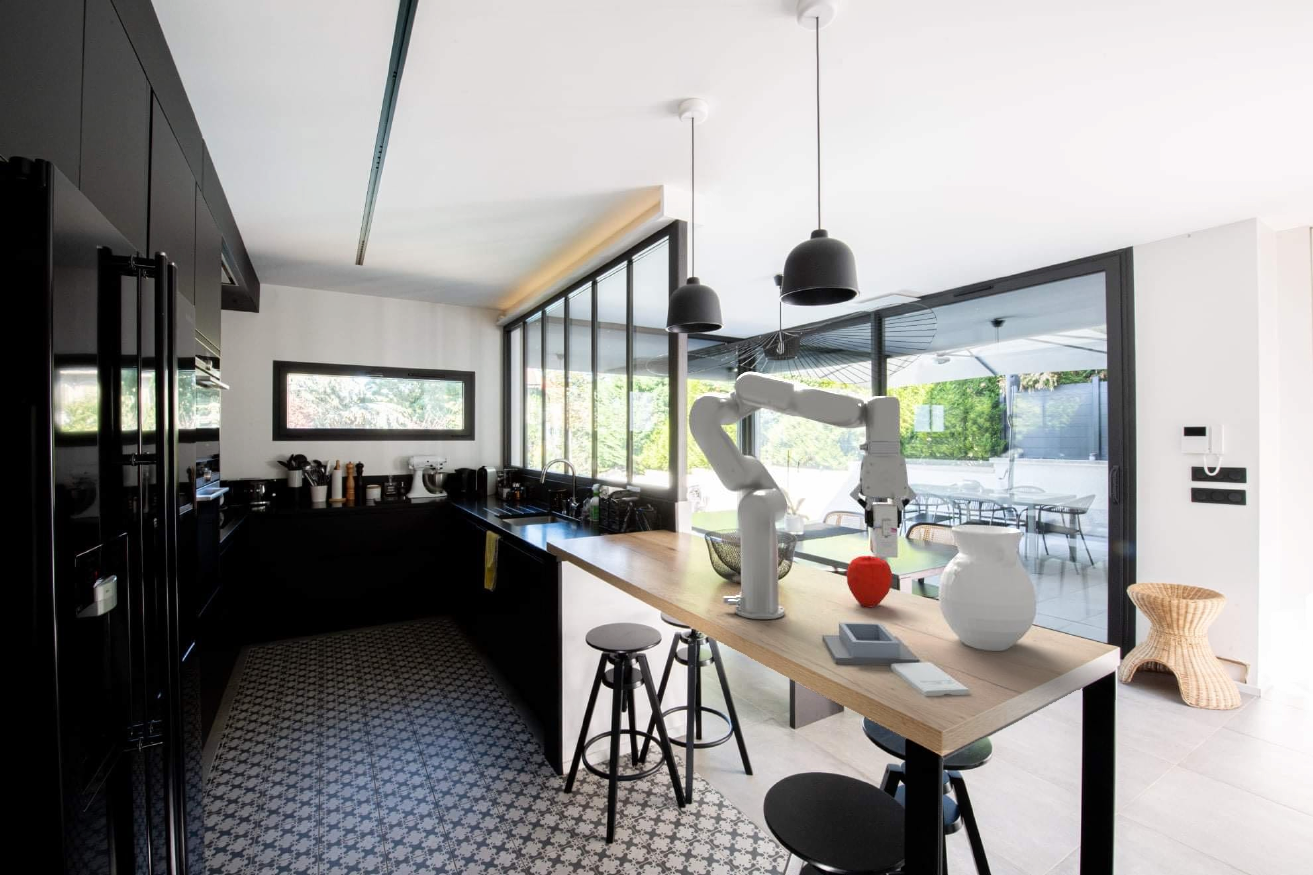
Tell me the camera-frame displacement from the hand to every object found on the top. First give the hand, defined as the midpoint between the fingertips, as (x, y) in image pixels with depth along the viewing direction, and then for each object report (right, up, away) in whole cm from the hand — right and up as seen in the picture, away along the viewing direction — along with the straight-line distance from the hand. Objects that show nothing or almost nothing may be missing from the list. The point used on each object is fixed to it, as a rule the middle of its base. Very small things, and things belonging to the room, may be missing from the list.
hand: (883, 526), depth 138 cm
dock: (-9, -24, -15) cm, 30 cm away
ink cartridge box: (0, -7, 0) cm, 7 cm away
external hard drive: (-3, -25, -29) cm, 39 cm away
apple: (+4, -25, +21) cm, 33 cm away
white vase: (+19, -24, -10) cm, 32 cm away
